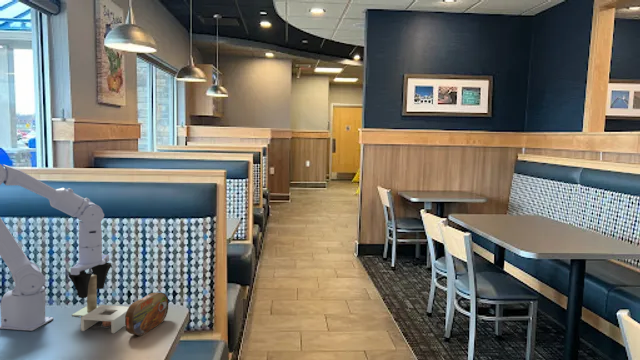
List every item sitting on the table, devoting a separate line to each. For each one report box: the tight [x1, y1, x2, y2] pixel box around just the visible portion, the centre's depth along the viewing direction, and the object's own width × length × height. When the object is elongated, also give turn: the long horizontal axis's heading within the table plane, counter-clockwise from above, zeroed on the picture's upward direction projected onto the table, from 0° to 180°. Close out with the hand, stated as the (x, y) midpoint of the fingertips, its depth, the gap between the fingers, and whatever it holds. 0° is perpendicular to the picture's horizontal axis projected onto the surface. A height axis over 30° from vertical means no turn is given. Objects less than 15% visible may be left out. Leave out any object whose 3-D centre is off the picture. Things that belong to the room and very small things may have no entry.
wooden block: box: [86, 274, 98, 312], centre depth 126 cm, size 2×2×10 cm
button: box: [101, 321, 111, 326], centre depth 118 cm, size 3×3×2 cm
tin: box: [125, 291, 169, 336], centre depth 116 cm, size 15×3×8 cm, turn 165°
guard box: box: [80, 304, 130, 334], centre depth 118 cm, size 9×9×4 cm
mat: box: [71, 305, 100, 318], centre depth 126 cm, size 7×7×1 cm
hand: (91, 292), depth 126 cm, fingers open, 7 cm apart
